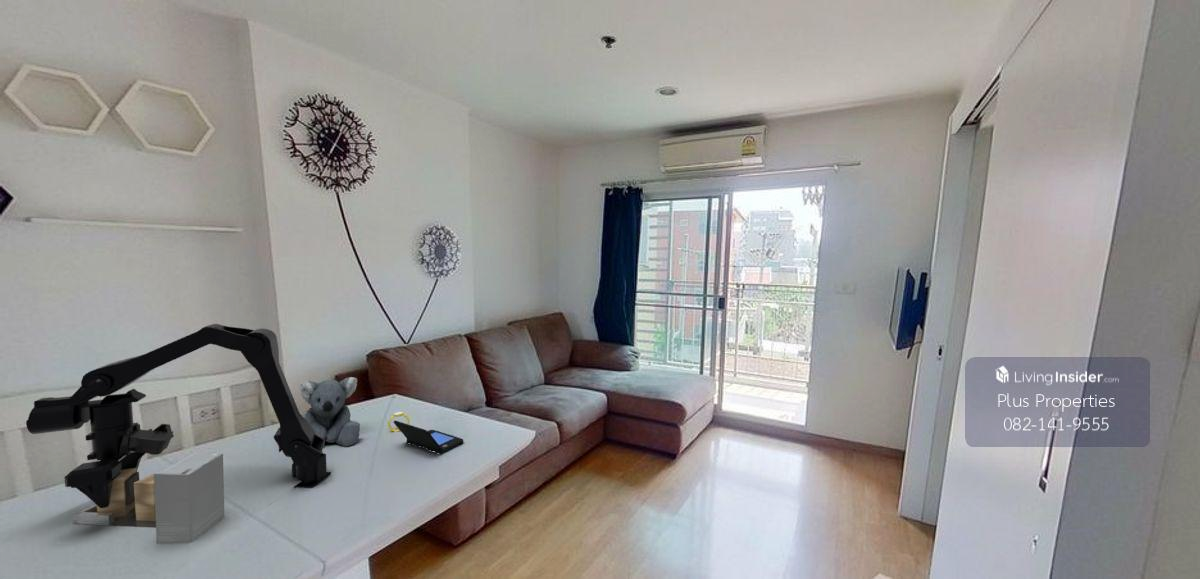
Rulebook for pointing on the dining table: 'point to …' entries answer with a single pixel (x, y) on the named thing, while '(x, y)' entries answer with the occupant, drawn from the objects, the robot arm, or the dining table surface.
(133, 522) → the rail
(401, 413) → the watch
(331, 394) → the koala plush
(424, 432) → the game console
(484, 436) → the dining table surface
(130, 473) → the block
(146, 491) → the block
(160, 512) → the skincare box
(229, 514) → the dining table surface
